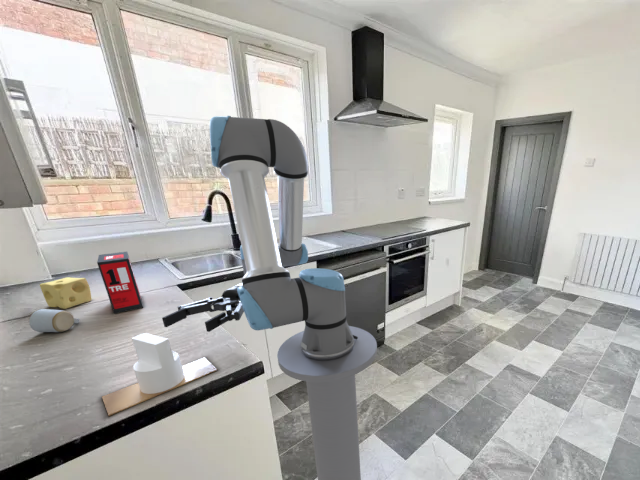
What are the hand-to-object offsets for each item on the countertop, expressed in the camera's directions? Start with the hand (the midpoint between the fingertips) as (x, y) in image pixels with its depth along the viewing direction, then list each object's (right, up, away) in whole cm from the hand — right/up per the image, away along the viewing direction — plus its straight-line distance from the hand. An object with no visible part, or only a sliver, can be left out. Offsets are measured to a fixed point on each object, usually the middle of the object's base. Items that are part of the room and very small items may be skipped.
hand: (185, 324), depth 80 cm
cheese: (-78, +3, +47) cm, 91 cm away
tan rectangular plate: (-2, -14, -5) cm, 15 cm away
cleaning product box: (-53, +3, +45) cm, 69 cm away
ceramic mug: (-59, -5, +25) cm, 64 cm away
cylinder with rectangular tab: (-2, -14, -5) cm, 15 cm away
